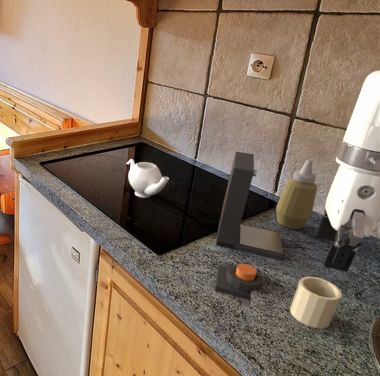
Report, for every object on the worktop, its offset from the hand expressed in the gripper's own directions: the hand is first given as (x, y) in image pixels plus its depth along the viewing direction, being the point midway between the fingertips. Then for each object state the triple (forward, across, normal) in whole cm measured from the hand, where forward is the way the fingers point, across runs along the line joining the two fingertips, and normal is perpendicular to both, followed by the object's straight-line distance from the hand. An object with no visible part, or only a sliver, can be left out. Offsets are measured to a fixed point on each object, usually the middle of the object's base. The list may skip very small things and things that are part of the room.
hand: (330, 252), depth 68 cm
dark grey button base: (+15, +6, +10) cm, 19 cm away
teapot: (+16, +40, +38) cm, 58 cm away
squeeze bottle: (+15, +40, -1) cm, 43 cm away
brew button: (+13, +6, +10) cm, 17 cm away
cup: (+15, 0, -1) cm, 15 cm away
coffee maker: (+15, +26, +9) cm, 31 cm away
